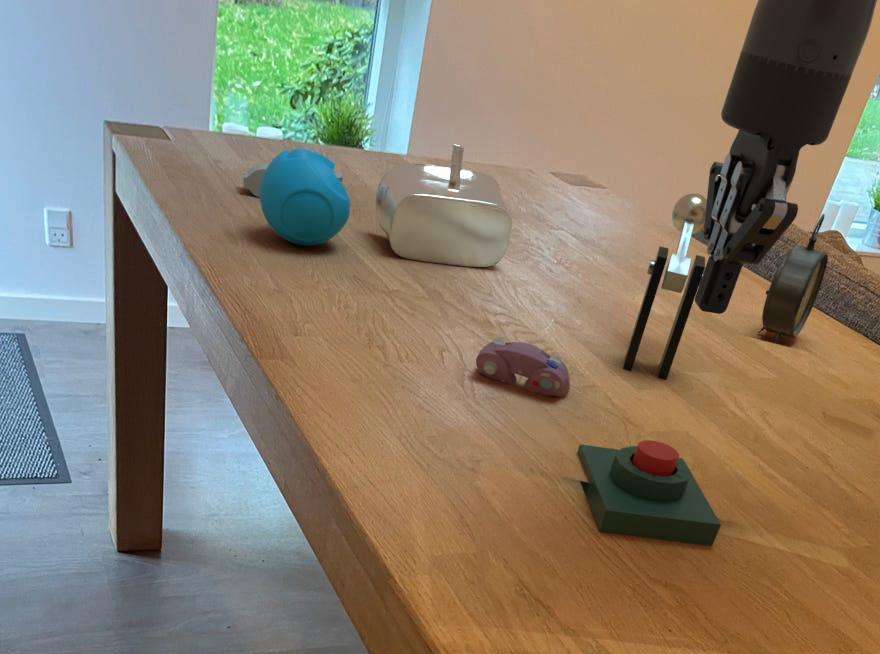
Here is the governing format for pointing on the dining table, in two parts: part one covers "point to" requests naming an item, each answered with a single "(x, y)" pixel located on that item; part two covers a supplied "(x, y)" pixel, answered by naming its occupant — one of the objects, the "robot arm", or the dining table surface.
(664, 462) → the button
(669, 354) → the bracket
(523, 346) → the video game controller
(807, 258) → the alarm clock
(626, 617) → the dining table surface
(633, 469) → the box
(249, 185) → the bunny figurine
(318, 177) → the teal rounded lump
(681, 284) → the lever
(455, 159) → the vr headset
